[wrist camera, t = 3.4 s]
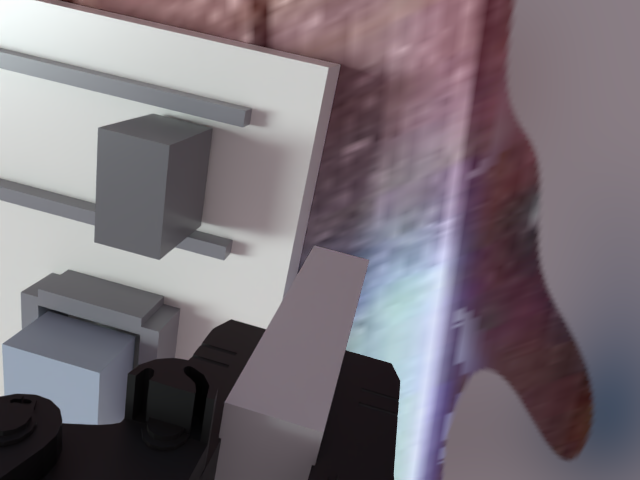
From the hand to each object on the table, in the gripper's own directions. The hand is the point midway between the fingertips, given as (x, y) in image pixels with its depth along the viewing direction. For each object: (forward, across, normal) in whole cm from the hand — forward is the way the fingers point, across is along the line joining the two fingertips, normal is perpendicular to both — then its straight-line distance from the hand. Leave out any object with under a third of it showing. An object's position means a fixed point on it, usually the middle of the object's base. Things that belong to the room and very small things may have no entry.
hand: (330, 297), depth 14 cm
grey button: (+5, -10, -9) cm, 14 cm away
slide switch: (+6, -7, 0) cm, 10 cm away
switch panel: (+9, -10, -8) cm, 16 cm away
